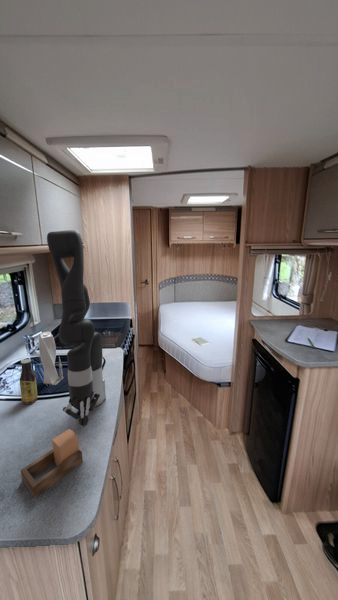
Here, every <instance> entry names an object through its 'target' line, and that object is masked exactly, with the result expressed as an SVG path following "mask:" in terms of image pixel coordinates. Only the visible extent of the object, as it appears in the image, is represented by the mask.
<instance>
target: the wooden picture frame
mask: <svg viewBox="0 0 338 600" xmlns="http://www.w3.org/2000/svg"><path fill="white" fill-rule="evenodd" d="M83 460H84V459H83V451H82V450H81V449H79V451H78V452H76V453H75V454H74V455H72V456H71V457H69V458H68V459H67V460H65V461H64V462H62V463H61V464H60V465H58V466H57V465H56V467H54V468H53V469H51V470H50V471H49V472H47V473H46V474H44V475H42V476H41V477H40V478H39V479H37V480H35V478H34V477H35V476H36V475H38V474H40V473H41V472H42V471H44V470H45V469H46V468H48V467H49V466H50V465H52V464H54V463H55V460H54V452H53V448H52V449H51V450H49V451H48V452H46V453H45V454H43V455H42V456H40V457H39V458H37V459H36V460H34V461H33V462H30V463H29V464H28V465H26V466H25V467H23V468H22V469H20V475H21V481H22V482H23V484H24V485H25V486H26V488H27V490H28V491H29V492H30V494H31V495H32V496H33V497H34V499H37V498H38V497H39V496H40V495H42V494H43V493H44V492H46V490H49V488H51V487H52V486H53V485H55V484H56V483H58V482H59V481H60V480H62V479H63V478H64V477H65V476H67V474H69V473H70V472H72V471H73V470H75V468H77V467H78V466H80V465H81V464H82V463H84V461H83Z"/></svg>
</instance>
